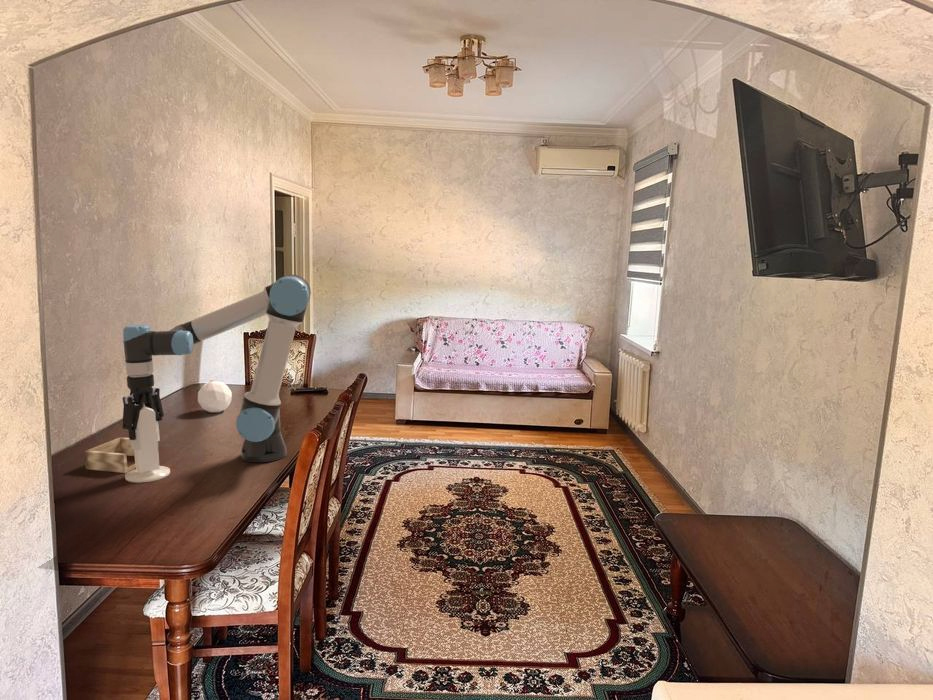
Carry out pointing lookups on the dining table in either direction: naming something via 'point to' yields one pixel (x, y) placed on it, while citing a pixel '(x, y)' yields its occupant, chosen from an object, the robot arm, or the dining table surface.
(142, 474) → the cream flat disc
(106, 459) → the shelf bay
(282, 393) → the dining table surface
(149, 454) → the milk
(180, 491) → the dining table surface
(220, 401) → the geodesic sphere
